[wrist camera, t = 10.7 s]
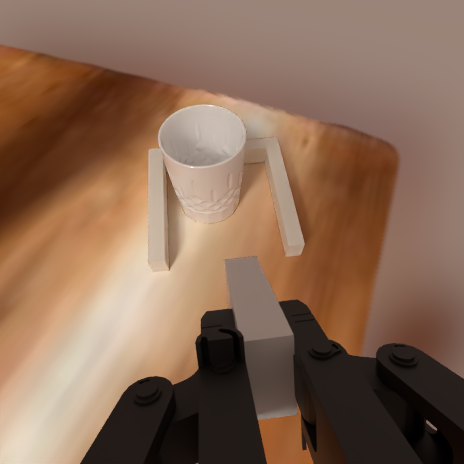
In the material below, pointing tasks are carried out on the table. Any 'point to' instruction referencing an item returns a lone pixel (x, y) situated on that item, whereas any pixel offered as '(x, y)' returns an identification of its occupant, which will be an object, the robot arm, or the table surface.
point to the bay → (254, 153)
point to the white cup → (204, 160)
